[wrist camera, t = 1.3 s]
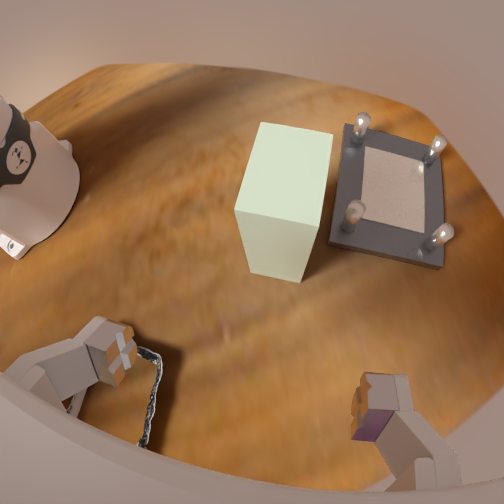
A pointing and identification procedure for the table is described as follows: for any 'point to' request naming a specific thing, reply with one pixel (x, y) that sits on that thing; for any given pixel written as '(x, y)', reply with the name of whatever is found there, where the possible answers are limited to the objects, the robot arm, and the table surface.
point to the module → (283, 199)
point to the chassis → (390, 197)
